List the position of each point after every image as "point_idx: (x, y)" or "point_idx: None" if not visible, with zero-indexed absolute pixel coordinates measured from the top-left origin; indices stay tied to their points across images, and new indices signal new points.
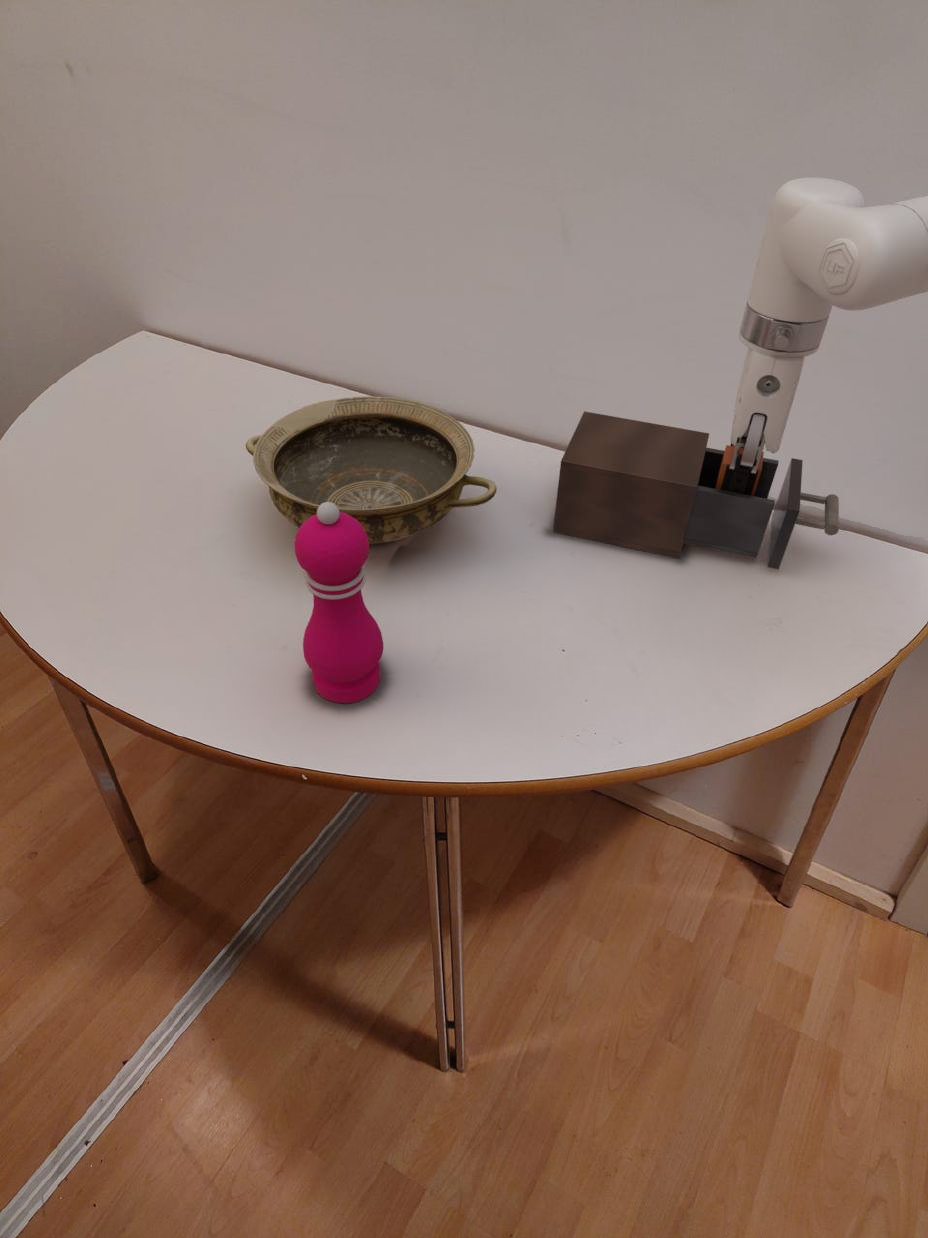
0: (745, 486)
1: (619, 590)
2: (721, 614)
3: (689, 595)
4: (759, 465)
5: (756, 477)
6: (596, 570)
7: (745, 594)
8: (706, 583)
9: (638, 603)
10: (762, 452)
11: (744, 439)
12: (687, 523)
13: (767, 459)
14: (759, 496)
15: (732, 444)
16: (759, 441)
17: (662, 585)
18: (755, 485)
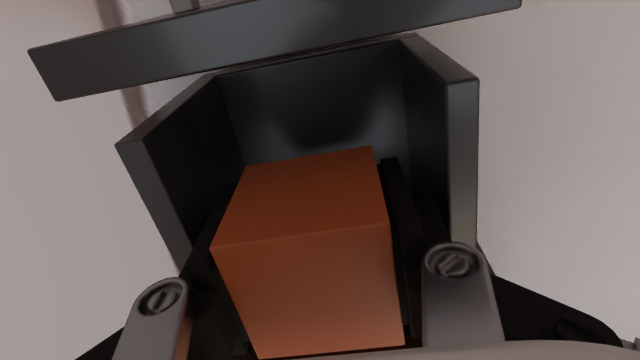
0: (440, 219)
1: (583, 241)
2: (627, 47)
3: (568, 130)
4: (347, 238)
5: (416, 215)
6: (533, 283)
7: (530, 14)
8: (513, 111)
9: (618, 205)
10: (222, 251)
11: (216, 347)
12: (477, 243)
13: (143, 183)
14: (209, 112)
15: (245, 348)
16: (187, 302)
17: (547, 184)
18: (380, 182)
